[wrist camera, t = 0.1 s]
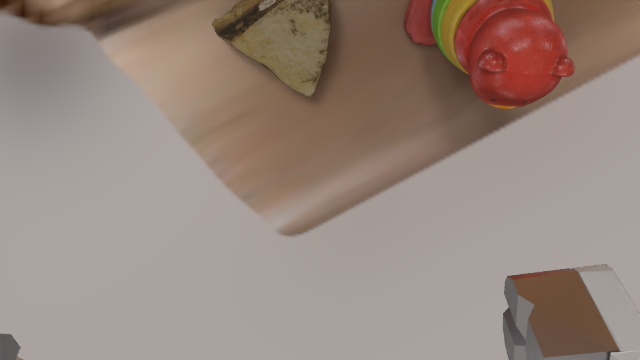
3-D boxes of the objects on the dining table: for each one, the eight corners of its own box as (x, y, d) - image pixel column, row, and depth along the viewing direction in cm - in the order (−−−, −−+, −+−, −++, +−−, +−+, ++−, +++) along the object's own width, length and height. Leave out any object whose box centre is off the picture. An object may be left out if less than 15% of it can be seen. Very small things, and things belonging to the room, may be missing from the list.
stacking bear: (398, 37, 56) (429, 131, 41) (428, -74, 50) (477, -11, 36) (505, 56, 57) (573, 154, 43) (547, -51, 52) (640, 19, 37)
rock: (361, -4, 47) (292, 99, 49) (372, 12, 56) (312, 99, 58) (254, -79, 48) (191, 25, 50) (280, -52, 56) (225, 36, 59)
